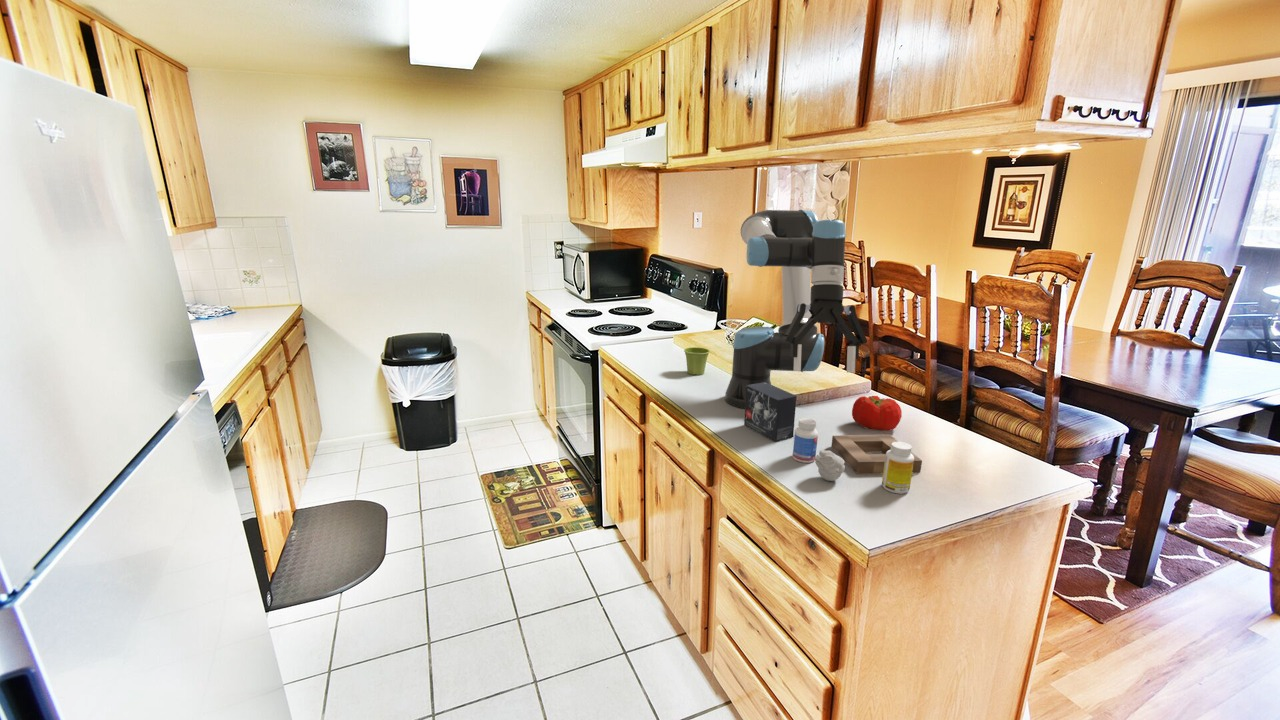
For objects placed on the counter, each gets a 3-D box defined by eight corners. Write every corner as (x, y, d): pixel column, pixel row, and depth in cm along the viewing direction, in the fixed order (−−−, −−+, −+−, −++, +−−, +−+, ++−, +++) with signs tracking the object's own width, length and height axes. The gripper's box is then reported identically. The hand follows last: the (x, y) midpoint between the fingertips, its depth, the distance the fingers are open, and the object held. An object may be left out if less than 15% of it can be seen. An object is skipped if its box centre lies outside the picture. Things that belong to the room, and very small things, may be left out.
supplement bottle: (914, 494, 117) (921, 450, 114) (889, 495, 116) (895, 451, 114) (901, 482, 122) (907, 439, 119) (876, 482, 122) (882, 440, 119)
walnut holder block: (831, 446, 140) (832, 435, 139) (888, 445, 141) (889, 434, 140) (857, 473, 126) (858, 462, 125) (920, 472, 127) (922, 460, 126)
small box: (742, 425, 153) (745, 384, 150) (761, 421, 156) (764, 381, 153) (774, 442, 142) (777, 399, 139) (794, 437, 145) (798, 395, 142)
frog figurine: (806, 475, 125) (809, 446, 123) (834, 471, 127) (837, 444, 125) (821, 487, 119) (824, 458, 117) (849, 484, 121) (853, 455, 119)
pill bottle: (816, 464, 130) (820, 426, 127) (793, 462, 131) (796, 424, 129) (814, 454, 135) (817, 417, 133) (791, 452, 136) (795, 416, 134)
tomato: (903, 424, 155) (907, 396, 152) (894, 439, 145) (899, 409, 142) (856, 415, 162) (859, 387, 159) (845, 428, 152) (848, 399, 149)
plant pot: (695, 367, 208) (696, 345, 206) (714, 373, 201) (715, 350, 199) (677, 372, 202) (678, 349, 200) (696, 378, 195) (697, 354, 193)
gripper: (782, 280, 128) (779, 371, 129) (884, 285, 131) (880, 373, 131) (772, 284, 136) (769, 370, 136) (868, 288, 138) (865, 372, 138)
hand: (824, 372), depth 134 cm, fingers open, 13 cm apart
